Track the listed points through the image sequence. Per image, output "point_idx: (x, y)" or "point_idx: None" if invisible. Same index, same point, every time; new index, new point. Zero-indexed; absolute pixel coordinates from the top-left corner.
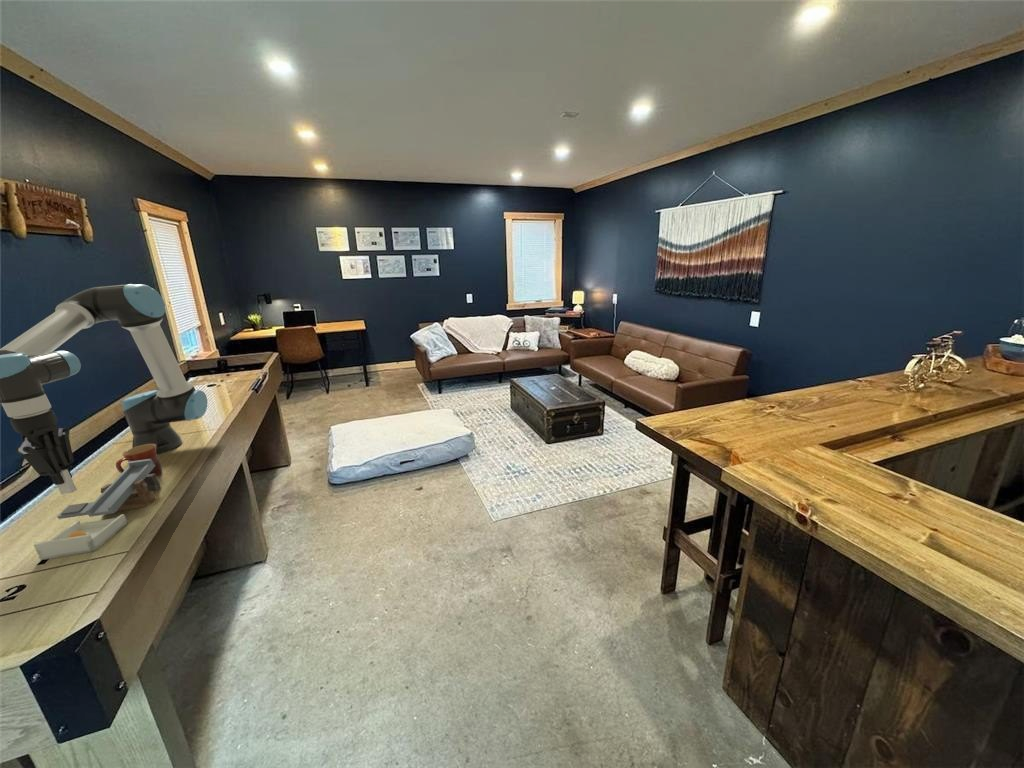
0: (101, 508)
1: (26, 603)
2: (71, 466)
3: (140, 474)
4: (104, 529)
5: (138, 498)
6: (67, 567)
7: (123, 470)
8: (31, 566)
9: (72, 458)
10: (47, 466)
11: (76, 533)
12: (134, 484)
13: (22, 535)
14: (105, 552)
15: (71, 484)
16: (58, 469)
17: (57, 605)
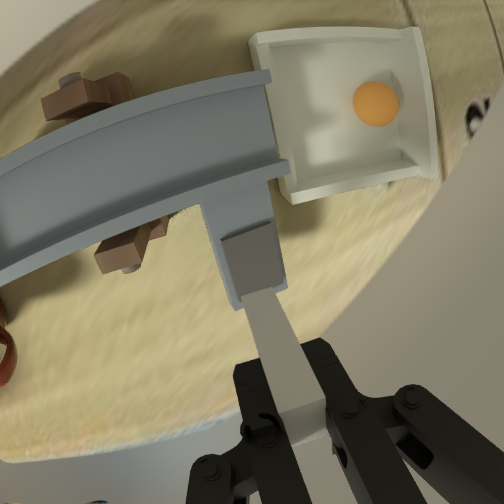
0: (247, 138)
1: (494, 63)
2: (253, 419)
3: (11, 153)
4: (354, 27)
5: (123, 93)
6: (433, 60)
7: (7, 348)
8: None
9: (196, 489)
10: (456, 437)
11: (391, 95)
12: (89, 97)
13: None
14: (388, 2)
15: (268, 319)
16: (356, 420)
17: (491, 7)
